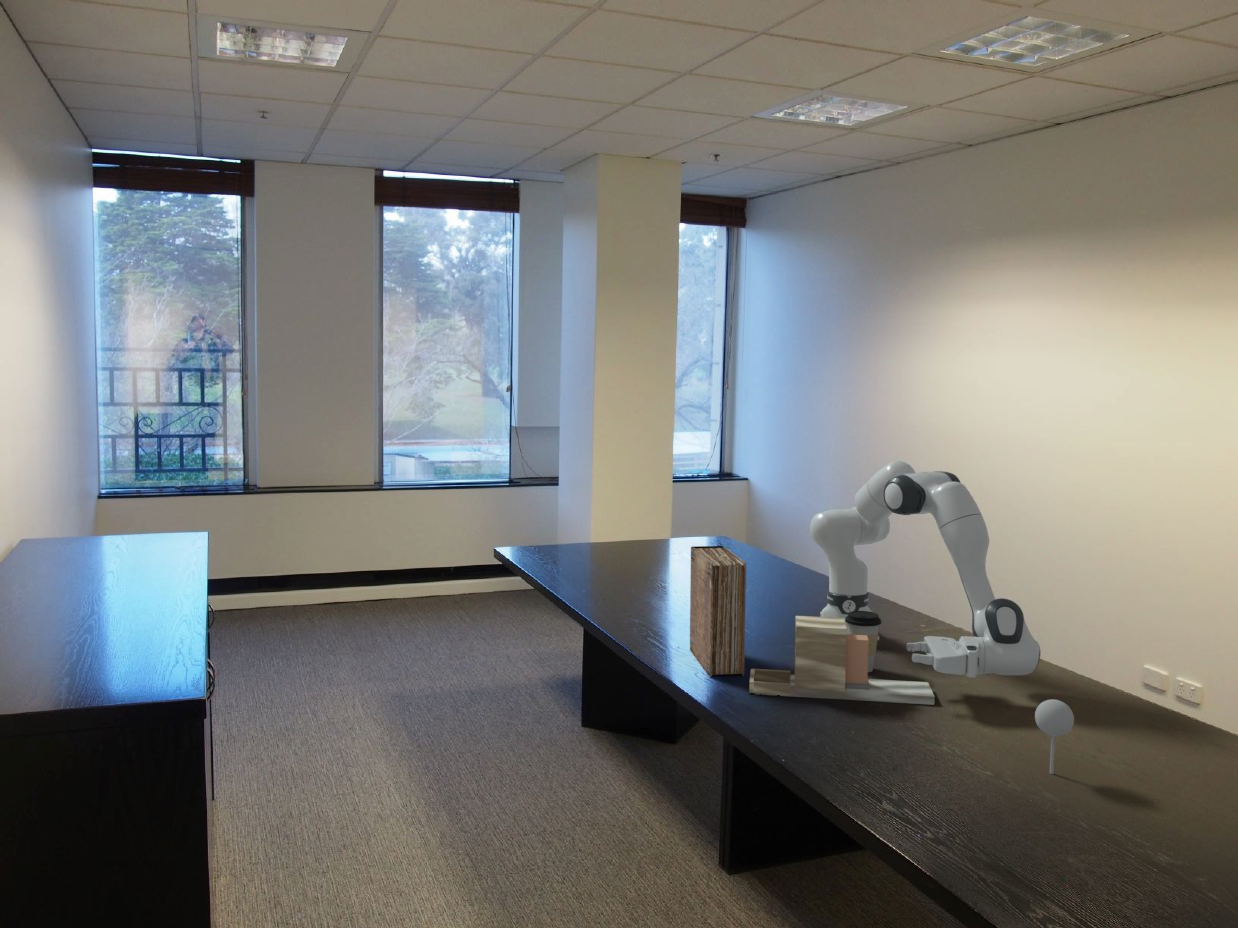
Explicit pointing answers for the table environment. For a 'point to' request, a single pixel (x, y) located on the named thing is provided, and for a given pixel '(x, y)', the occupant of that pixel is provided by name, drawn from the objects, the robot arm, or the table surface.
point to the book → (717, 610)
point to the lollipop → (1054, 721)
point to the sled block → (856, 662)
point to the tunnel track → (830, 670)
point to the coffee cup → (865, 630)
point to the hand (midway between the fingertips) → (909, 652)
